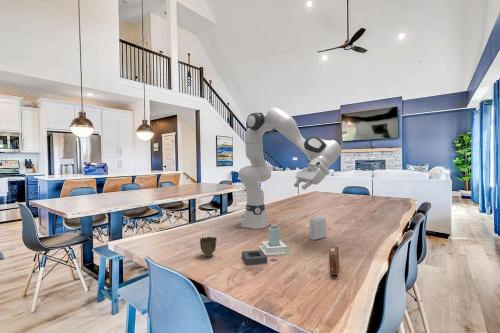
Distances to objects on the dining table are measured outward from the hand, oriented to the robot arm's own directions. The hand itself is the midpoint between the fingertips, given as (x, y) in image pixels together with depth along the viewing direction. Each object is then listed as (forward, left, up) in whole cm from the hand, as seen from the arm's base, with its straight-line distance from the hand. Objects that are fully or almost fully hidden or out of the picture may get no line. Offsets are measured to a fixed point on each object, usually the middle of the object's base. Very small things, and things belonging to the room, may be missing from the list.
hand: (298, 187), depth 127 cm
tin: (+28, +3, -30) cm, 41 cm away
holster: (+11, -25, -29) cm, 40 cm away
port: (+2, -13, -29) cm, 32 cm away
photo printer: (-10, +16, -30) cm, 35 cm away
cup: (+2, -44, -30) cm, 53 cm away
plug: (+2, -13, -29) cm, 32 cm away
